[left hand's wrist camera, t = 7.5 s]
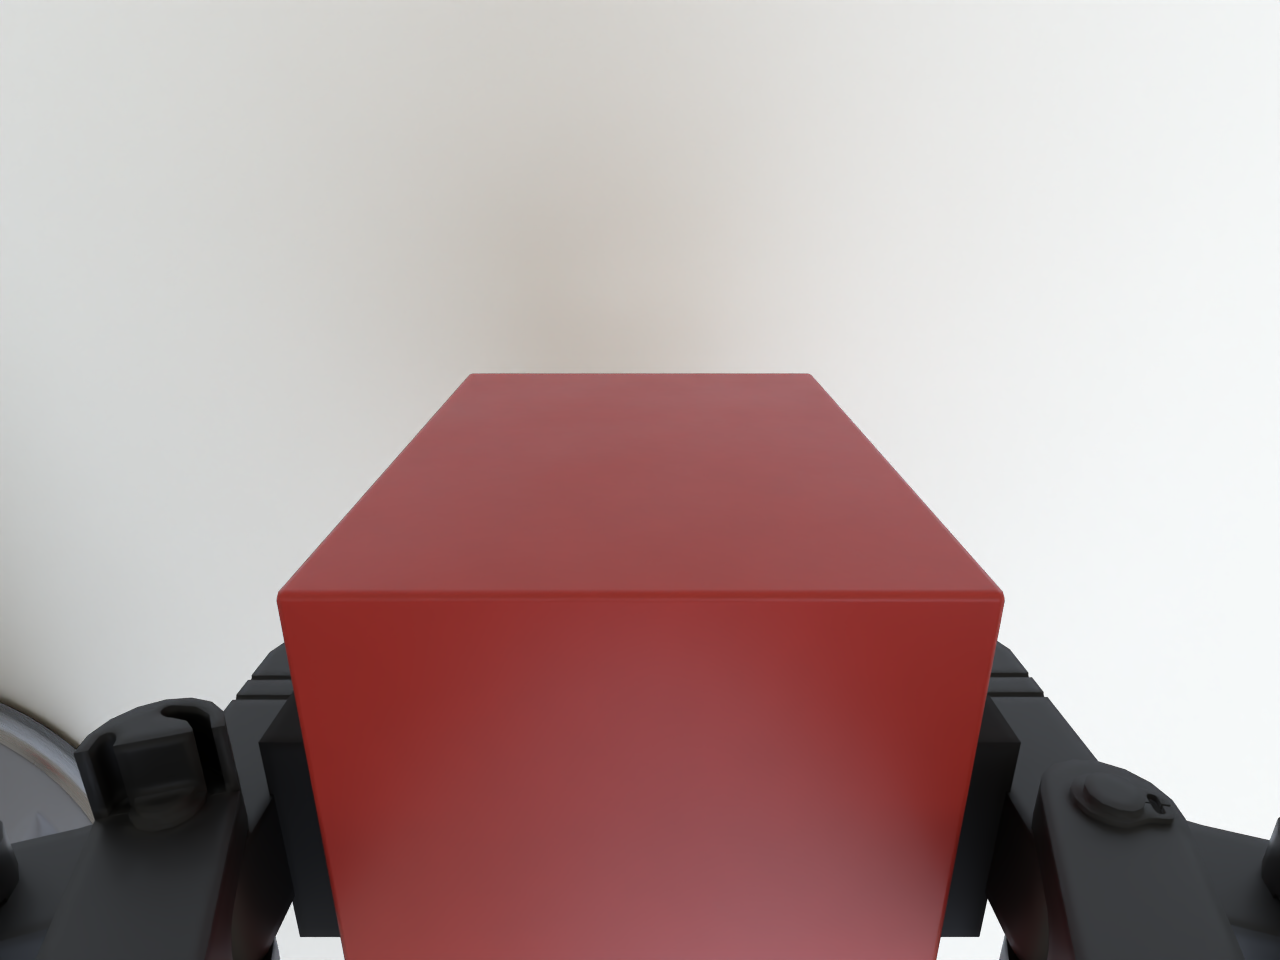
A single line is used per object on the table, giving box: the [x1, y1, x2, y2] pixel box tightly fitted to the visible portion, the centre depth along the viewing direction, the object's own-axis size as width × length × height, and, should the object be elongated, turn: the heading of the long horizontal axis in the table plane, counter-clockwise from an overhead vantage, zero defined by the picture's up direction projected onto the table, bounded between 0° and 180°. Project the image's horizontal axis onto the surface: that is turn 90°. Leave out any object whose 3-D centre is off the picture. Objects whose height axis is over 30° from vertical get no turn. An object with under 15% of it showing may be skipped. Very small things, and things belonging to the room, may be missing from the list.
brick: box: [277, 374, 1005, 960], centre depth 12 cm, size 7×6×8 cm
